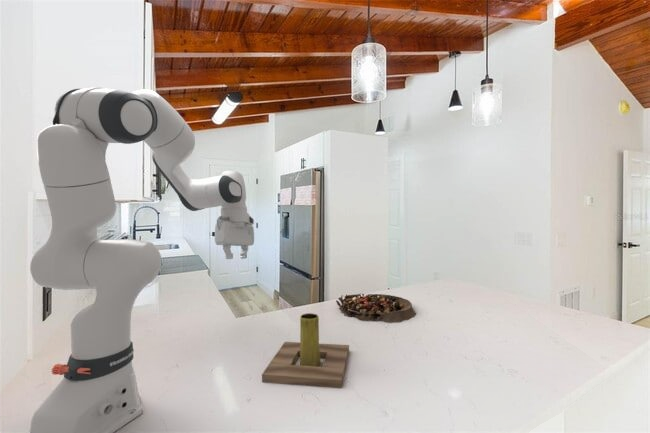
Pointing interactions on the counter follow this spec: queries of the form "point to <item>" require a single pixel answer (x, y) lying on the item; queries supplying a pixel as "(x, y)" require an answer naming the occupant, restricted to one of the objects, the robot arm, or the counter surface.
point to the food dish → (376, 308)
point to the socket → (323, 376)
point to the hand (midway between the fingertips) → (237, 258)
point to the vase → (309, 340)
